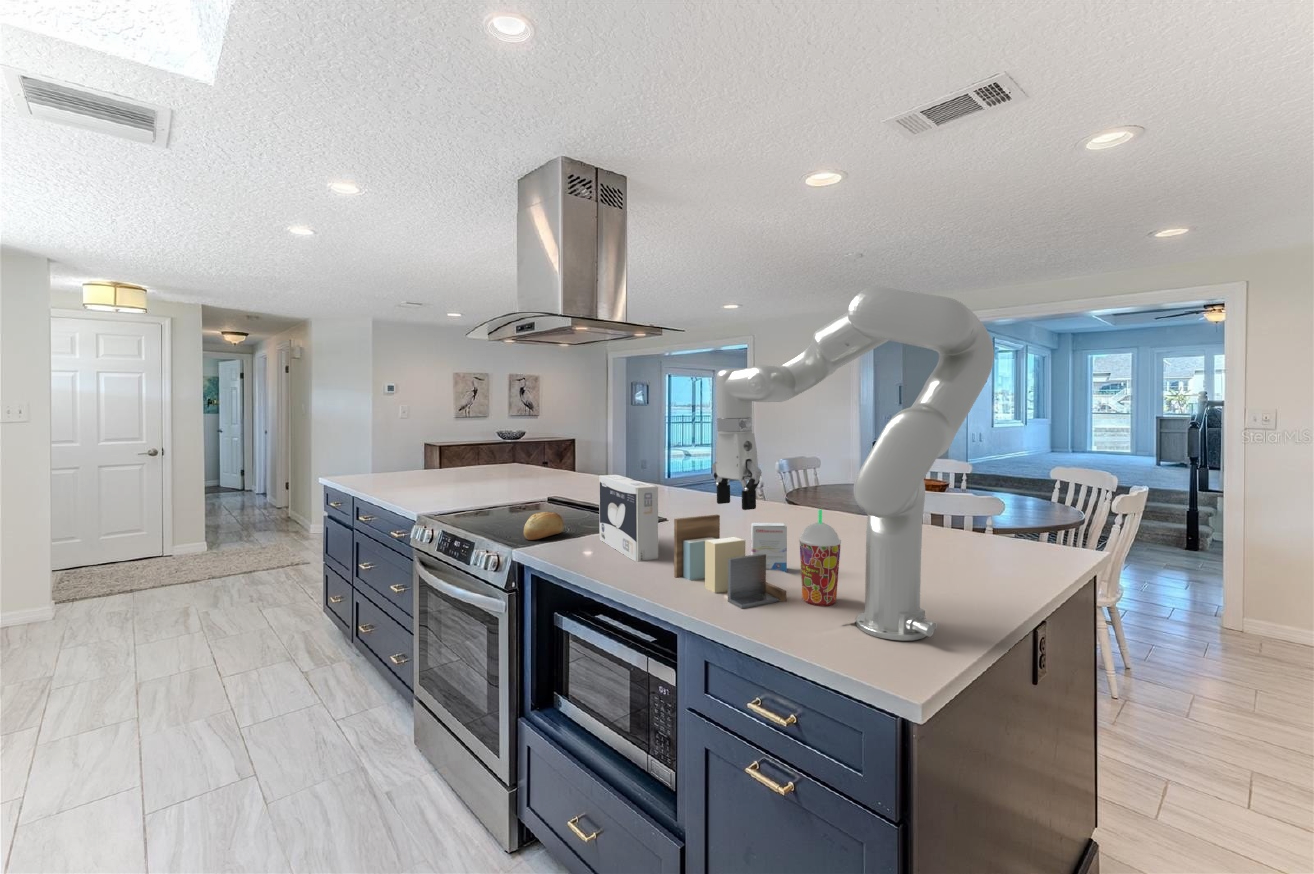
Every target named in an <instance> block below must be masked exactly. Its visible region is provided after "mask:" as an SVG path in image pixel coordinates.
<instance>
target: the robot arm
mask: <svg viewBox="0 0 1314 874" xmlns="http://www.w3.org/2000/svg"><path fill="white" fill-rule="evenodd" d="M890 341H891V342H895V343H901V344H905V345H910V346H913V347H914V346H915V347H919V348H925V349H928V350H931V351H935V352H937V353H938V361H937V364H936V366H935V368H934V369H933V371H932V372H930V373H931V374H929V376H928V378H927V379H926V381H925V382H924V385H923V387H922V389H921V391H920V392H919V394H918V395H917V397H916V399H915V400H914V402H913V404H912V405H911V406H910V407H907V408H903V409H902V410H900V411H898V412H897V413H896V414H894V415H893V416H892V417H891V418H890V419H889V420H888V422H887V423H886V425H885V426H884V427H883V429H882V430H881V432H880V434H879V436H878V437H877V439H876V440H875V443H874V445H873V447H872V448H871V449H870V452H869V454H868V455H867V457H866V458H865V460H864V462H863V463H862V465H861V467H860V469H859V471H858V472H857V475H856V477H855V480H854V483H853V497H854V499H855V502H856V504H857V505H858V507H859V508H860V509H861V510H862V511H863V512H864V513H866V514H867V518H866V519H867V520H866V531H865V533H866V534H865V535H866V536H865V569H864V570H865V573H864V574H865V575H864V576H865V577H864V578H865V579H864V612H861V613H859V614H857V616H856V618H855V624H856V626H857V628H858V629H859V630H860V631H862V632H864V633H865V634H868V635H871V636H873V637H876V638H881V639H886V640H891V641H901V642H903V641H904V642H905V641H908V642H910V641H917V640H922V639H924V638H926V637H928V638H929V637H931V636H933V634H934V633H935V630H936V629H937V627H938V626H937V622H935V621H932V620H930V619H926V609H923V608H921V582H922V581H921V576H922V573H921V572H922V568H921V567H922V546H923V545H922V543H923V542H922V541H923V539H922V538H923V537H922V536H923V534H922V533H923V522H924V521H923V520H924V509H925V501H926V483H925V480H924V479H925V477H926V476H927V474H928V473H929V471H930V469H931V468H932V466H933V465H934V463H935V462H936V460H937V459H938V458H940V457H941V456H943V455H944V454H945V453H946V452H947V451H949V448H950V446H951V444H952V443H953V442H954V439H955V437H956V435H957V434H958V432H959V430H960V428H961V427H962V425H963V423H964V422H965V420H966V418H967V417H968V415H969V414H970V412H971V409H972V408H973V407H974V404H975V402H976V401H977V400H978V397H979V396H980V393H981V392H982V390H983V389H984V387H985V385H986V383H987V381H988V379H989V378H990V374H991V372H992V369H993V364H994V358H995V357H994V356H995V355H994V354H995V351H994V343H993V340H992V337H991V335H990V333H989V331H988V330H987V328H986V326H985V325H984V324H983V322H982V321H981V320H980V318H979V317H978V316H977V315H976V314H975V313H974V312H973V311H972V310H971V309H970V308H968V307H967V305H966V304H964V303H963V302H961V301H959V300H957V299H955V298H952V297H947V296H941V295H936V294H931V293H930V294H929V293H922V292H914V291H909V290H904V289H903V290H902V289H896V288H891V287H885V286H871V287H870V286H869V287H867V288H864V289H862V290H861V291H859V292H857V294H856V295H854V297H852V299H851V301H850V303H849V305H848V308H847V311H846V312H845V313H844V314H841V315H840V316H838V317H836V318H835V319H832V321H830V322H828V323H826V324H825V325H822V326H821V327H820V328H818V329H817V330H815V332H814V333H813V335H812V338H811V342H810V344H809V345H808V347H807V348H806V349H805V350H804V351H802V352H801V353H800V354H798V355H797V356H795V357H794V358H792V359H790V360H789V361H786V362H785V363H783V364H781V365H779V366H775V365H766V364H765V365H764V364H762V365H759V364H758V365H754V366H749V367H746V368H739V367H738V368H736V367H735V368H722V369H720V370H719V371H718V372H717V374H716V379H715V380H716V381H715V382H716V385H715V386H716V388H715V390H716V433H717V437H716V448H715V462H714V463H713V464H712V465H711V469H712V473H713V477H714V480H715V482H714V485H715V486H716V503H717V504H718V505H722V504H723V505H724V504H730V503H731V485H730V484H729V483H730V481H735V482H736V481H739V482H740V485H741V487H742V489H743V490H741V510H742V511H748V510H749V511H750V510H756V508H757V492H756V491H757V490H758V486H759V484H760V479H761V476H762V470H761V469H760V468H759V459H758V450H757V443H756V437H755V434H754V432H753V402H756V403H782V402H787V401H788V400H791V399H793V398H795V397H796V396H798V395H800V394H803V393H804V392H806V391H808V390H809V389H811V388H813V387H815V386H817V385H818V384H820V383H821V382H823V381H824V380H825V379H826V378H828V377H829V376H831V375H832V374H833V373H835V372H836V371H837V370H838V369H840V368H841V367H843V366H845V365H847V364H849V363H851V362H852V361H854V360H856V359H858V358H859V357H862V356H863V355H865V354H866V353H869V352H870V351H873V350H874V349H876V348H878V347H880V346H881V345H884V344H885V343H887V342H890Z"/></svg>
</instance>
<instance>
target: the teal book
mask: <svg viewBox="0 0 1314 874" xmlns="http://www.w3.org/2000/svg"><path fill="white" fill-rule="evenodd" d="M712 539H716V538H713V537H708V538H700V539H692V540H683V577H682V578H685V579H686V580H688V581H694V580H701V579H705V540H712Z"/></svg>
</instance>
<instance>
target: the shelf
mask: <svg viewBox="0 0 1314 874" xmlns="http://www.w3.org/2000/svg"><path fill="white" fill-rule="evenodd" d="M720 517H721V516H720V514H710V515H700V516H691V517H681V518H680V517H678V518H674V520H673V521H674V522H673V523H674V524H673V525H674V528H673V529H674V531H673V532H674V533H673V537H674V538H673V539H674V540H673V541H674V547H673V550H674V551H673V552H674V554H673V555H674V558H673V560H674V563H673V564H674V569H673V570H674V573H673V575H674V578H675V579H681V578H684V577H683V540H692V539H700V538H708V537H713V538H716V539H720V538H721V536H720V535H721V533H720V531H721V530H720V529H721V528H720V526H721V523H720V522H721V518H720ZM766 593H768V594H770V595H772V596H774V597H777V598H778V601H780V602H787V590H785V589H783V588H781V587H778V586H776V585H773V584H771V583H770V582H766Z"/></svg>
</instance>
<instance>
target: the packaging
mask: <svg viewBox="0 0 1314 874" xmlns="http://www.w3.org/2000/svg"><path fill="white" fill-rule="evenodd" d="M598 497H599V499H598V507H599V510H598V513H599V515H598V517H599V518H598V520H599V529H598V531H599V540H600V542H602V541H603V544H606V545H607V546H609V547H610V548H612V549H614V550H615V549H616V551H617V552H619V553H621V554H622V555H623V554H624V555H623V556H625V557H627V558H628V559H630V560H632V561H633V562H635V563H637V562H645V561H651V560H652V561H653V560H658V559H659V487H658V486H656V485H652V484H650V483H647V482H643V481H641V480H640V481H639V480H634V479H633V478H629V477H626V476H623V475H619V474H605V475H604V474H603V475H599V476H598Z"/></svg>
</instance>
